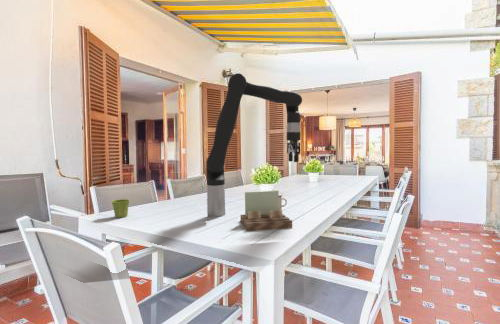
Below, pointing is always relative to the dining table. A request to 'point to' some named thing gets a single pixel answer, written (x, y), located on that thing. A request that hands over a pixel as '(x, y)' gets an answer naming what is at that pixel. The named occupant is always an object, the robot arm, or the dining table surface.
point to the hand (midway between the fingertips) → (293, 161)
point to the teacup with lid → (281, 201)
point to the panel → (261, 201)
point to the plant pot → (120, 207)
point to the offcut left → (254, 214)
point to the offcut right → (275, 213)
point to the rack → (266, 223)
